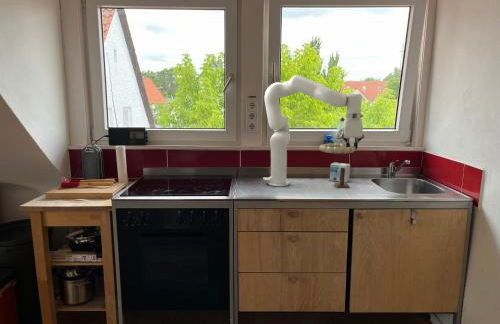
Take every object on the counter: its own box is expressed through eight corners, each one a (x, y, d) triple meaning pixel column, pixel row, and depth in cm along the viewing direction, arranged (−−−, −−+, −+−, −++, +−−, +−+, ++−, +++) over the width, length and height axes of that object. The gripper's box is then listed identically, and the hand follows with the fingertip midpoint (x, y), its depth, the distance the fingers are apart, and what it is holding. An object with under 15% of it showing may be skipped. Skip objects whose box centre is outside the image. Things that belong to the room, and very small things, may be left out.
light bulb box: (329, 180, 219) (330, 163, 217) (333, 178, 224) (334, 162, 223) (345, 182, 213) (346, 165, 211) (349, 180, 218) (350, 163, 217)
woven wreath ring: (323, 153, 182) (323, 147, 181) (316, 148, 201) (316, 143, 201) (360, 153, 182) (360, 147, 181) (349, 148, 201) (349, 143, 201)
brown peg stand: (337, 187, 200) (338, 168, 198) (334, 185, 207) (335, 166, 205) (349, 187, 200) (350, 168, 198) (346, 185, 207) (347, 166, 205)
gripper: (366, 116, 192) (364, 149, 195) (336, 116, 192) (335, 149, 195) (370, 116, 185) (368, 150, 188) (340, 116, 184) (338, 150, 188)
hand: (351, 149), depth 191 cm, fingers closed on woven wreath ring, 3 cm apart
